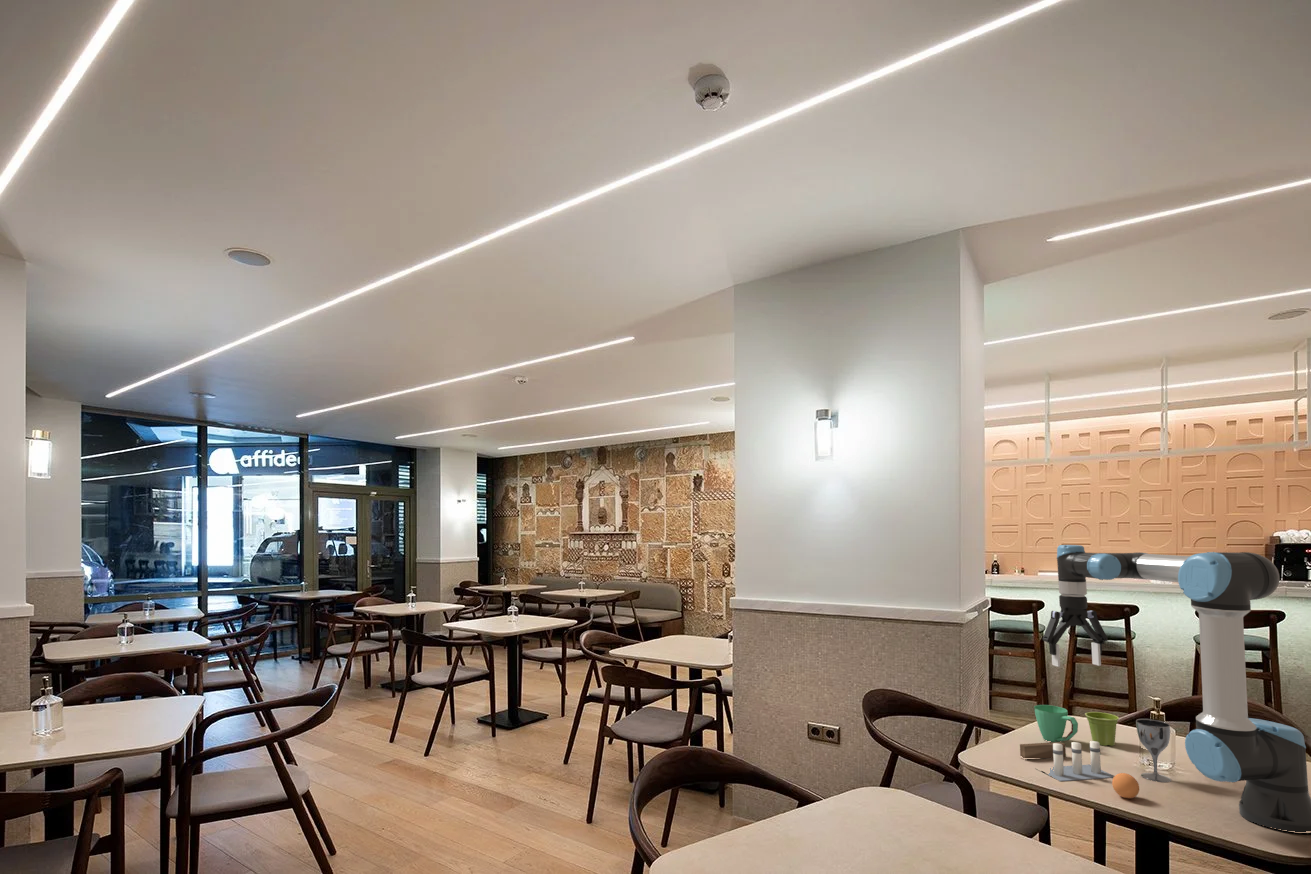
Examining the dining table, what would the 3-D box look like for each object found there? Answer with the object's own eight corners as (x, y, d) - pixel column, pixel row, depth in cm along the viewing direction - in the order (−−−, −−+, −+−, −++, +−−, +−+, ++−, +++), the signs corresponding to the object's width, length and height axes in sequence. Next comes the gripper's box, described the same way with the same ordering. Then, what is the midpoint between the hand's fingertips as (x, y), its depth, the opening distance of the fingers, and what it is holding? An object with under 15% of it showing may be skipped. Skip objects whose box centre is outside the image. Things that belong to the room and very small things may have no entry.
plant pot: (1082, 743, 235) (1080, 715, 236) (1091, 737, 242) (1090, 710, 243) (1115, 750, 229) (1113, 721, 229) (1124, 743, 235) (1122, 716, 236)
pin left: (1066, 776, 205) (1064, 745, 206) (1058, 777, 205) (1056, 746, 206) (1059, 773, 208) (1058, 742, 209) (1052, 774, 207) (1050, 743, 208)
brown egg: (1145, 801, 188) (1144, 777, 189) (1125, 802, 187) (1124, 778, 188) (1126, 792, 194) (1125, 769, 195) (1107, 793, 193) (1106, 770, 194)
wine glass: (1178, 784, 200) (1175, 727, 202) (1146, 781, 202) (1143, 725, 204) (1165, 773, 208) (1161, 719, 210) (1134, 771, 210) (1131, 717, 211)
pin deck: (1116, 777, 205) (1116, 776, 205) (1060, 781, 202) (1059, 780, 202) (1089, 765, 215) (1089, 764, 215) (1035, 768, 212) (1035, 768, 212)
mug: (1028, 737, 241) (1026, 706, 242) (1051, 734, 244) (1049, 703, 245) (1066, 751, 227) (1064, 718, 228) (1089, 748, 230) (1088, 715, 231)
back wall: (1065, 757, 221) (1065, 743, 222) (1024, 760, 219) (1024, 746, 219) (1061, 755, 223) (1060, 741, 224) (1020, 757, 221) (1019, 744, 221)
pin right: (1103, 774, 207) (1101, 743, 208) (1095, 774, 207) (1094, 743, 208) (1096, 771, 210) (1095, 740, 211) (1088, 771, 209) (1087, 741, 210)
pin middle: (1084, 775, 206) (1083, 744, 207) (1077, 776, 206) (1075, 745, 207) (1078, 772, 209) (1076, 741, 210) (1070, 773, 208) (1069, 742, 209)
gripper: (1100, 593, 231) (1104, 661, 229) (1028, 594, 228) (1031, 663, 226) (1118, 596, 224) (1122, 666, 222) (1043, 596, 221) (1047, 668, 218)
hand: (1076, 665), depth 224 cm, fingers open, 13 cm apart
